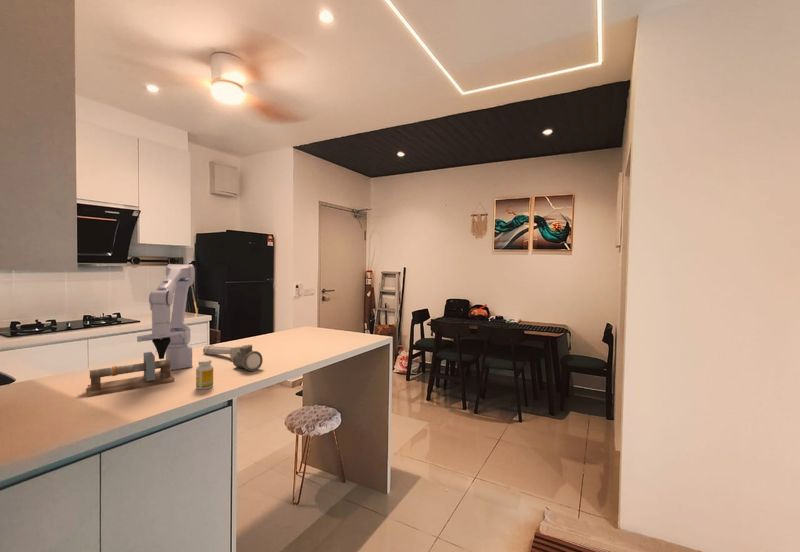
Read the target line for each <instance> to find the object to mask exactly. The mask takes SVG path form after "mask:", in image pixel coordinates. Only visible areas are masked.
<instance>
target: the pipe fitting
mask: <svg viewBox="0 0 800 552" xmlns="http://www.w3.org/2000/svg"><path fill="white" fill-rule="evenodd" d="M239 349H240V351H238V352H237V354H236V355H235V356H234V358H233V361H232V363H233V366H234V367H236V368H241V369H242V368H243V369H245V370H246V371H248V372H257V371H258V370H259V369H260V368H261V367H262V364H263V356H262V354H261V353H260V352H259V351H257V350H256V351H255V350H253V344H246V345H242V346H240V347H239Z"/></svg>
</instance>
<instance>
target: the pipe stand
mask: <svg viewBox="0 0 800 552" xmlns="http://www.w3.org/2000/svg"><path fill="white" fill-rule="evenodd" d="M170 366H171V362H170V359H169V360H166V359H161V360H155V370H158V369H160V372H159V373H155V380H152V381H146V379H145V377H144V375H143V376H141V375H140V376H137V377H135V376H134V377H130V378H124V379H123V378H122V379H116V380H112V381H111V380H110V381H104V382H101V381H102V380H101V378H104V377H115V376H118V375H126V374H133V373H138V372H144V371H146V363H144V362H143V363H134V364H125V365H119V366H116V365H115V366H110V367H106V368H100V369H99V368H98V369H92V370H89V380H90V384H87V397H95V396H100V395H105V394H111V393H115V392H116V393H117V392H122V391H123V392H124V391H128V390H134V389H140V388H145V387H146V388H147V387H150V386H151V387H153V386H156V385H157V386H158V385H163V384H167V383H174V382H175V378H174V376H172V374H171V370H170Z"/></svg>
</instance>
